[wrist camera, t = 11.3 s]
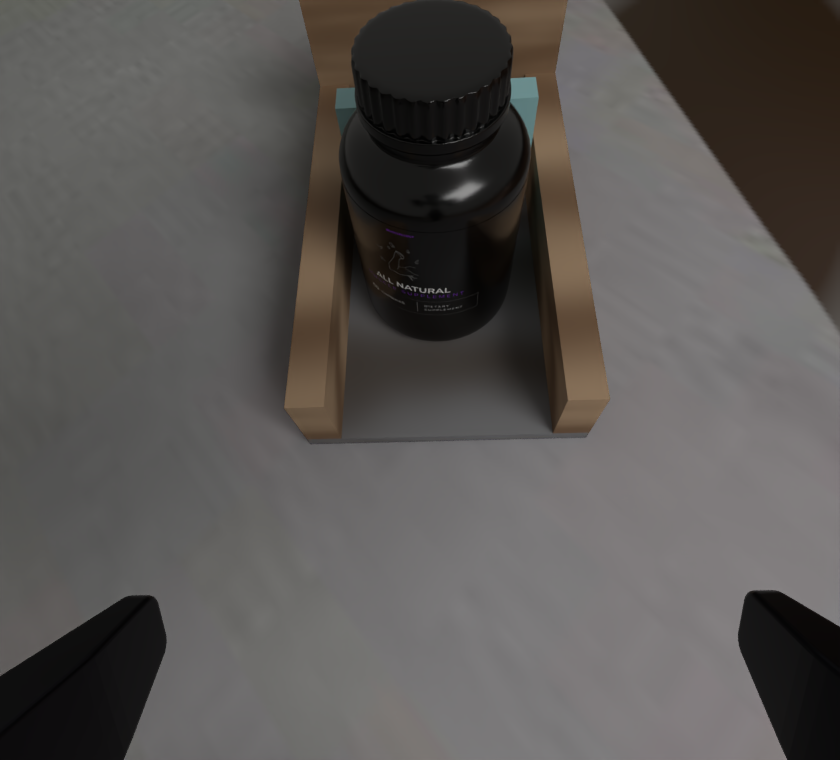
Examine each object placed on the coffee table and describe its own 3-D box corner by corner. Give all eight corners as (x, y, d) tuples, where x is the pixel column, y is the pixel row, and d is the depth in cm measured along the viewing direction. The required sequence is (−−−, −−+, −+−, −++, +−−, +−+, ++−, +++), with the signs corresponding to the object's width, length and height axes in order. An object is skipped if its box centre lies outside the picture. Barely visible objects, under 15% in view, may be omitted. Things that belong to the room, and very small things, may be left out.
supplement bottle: (390, 365, 25) (339, 154, 14) (354, 252, 28) (289, 5, 17) (532, 323, 25) (587, 88, 15) (482, 216, 28) (497, -45, 18)
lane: (585, 437, 24) (649, 337, 16) (310, 443, 24) (241, 350, 16) (540, 121, 32) (567, -46, 24) (337, 132, 33) (300, -27, 25)
